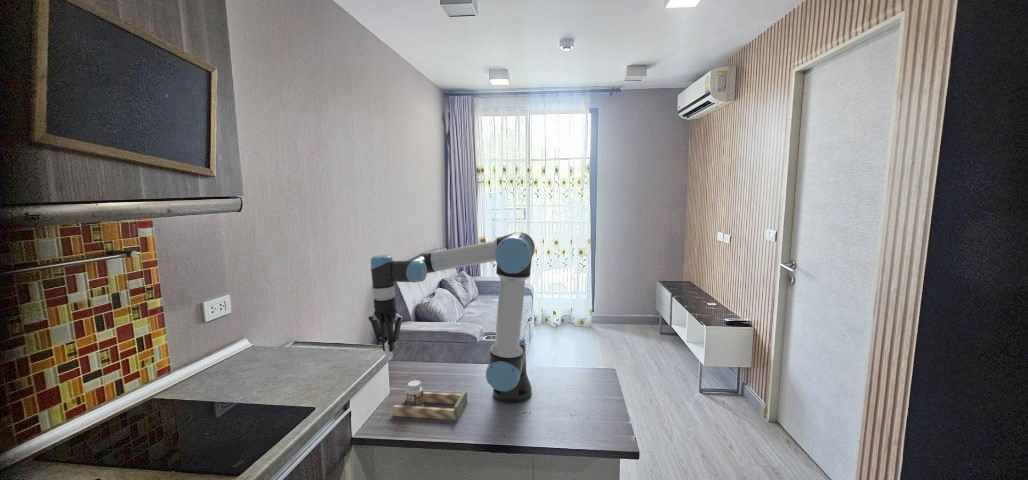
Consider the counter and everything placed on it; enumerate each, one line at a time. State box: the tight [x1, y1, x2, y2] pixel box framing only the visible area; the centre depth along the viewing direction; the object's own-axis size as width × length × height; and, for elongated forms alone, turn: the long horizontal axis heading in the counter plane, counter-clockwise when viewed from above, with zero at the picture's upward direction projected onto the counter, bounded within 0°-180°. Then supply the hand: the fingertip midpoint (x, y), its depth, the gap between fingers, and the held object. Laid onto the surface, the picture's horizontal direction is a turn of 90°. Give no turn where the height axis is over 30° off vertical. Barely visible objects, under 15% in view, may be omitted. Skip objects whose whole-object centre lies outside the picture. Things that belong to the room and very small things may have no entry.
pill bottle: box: [406, 380, 425, 407], centre depth 148 cm, size 6×6×10 cm
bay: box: [392, 390, 468, 421], centre depth 147 cm, size 24×11×5 cm, turn 80°
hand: (389, 359), depth 147 cm, fingers closed
